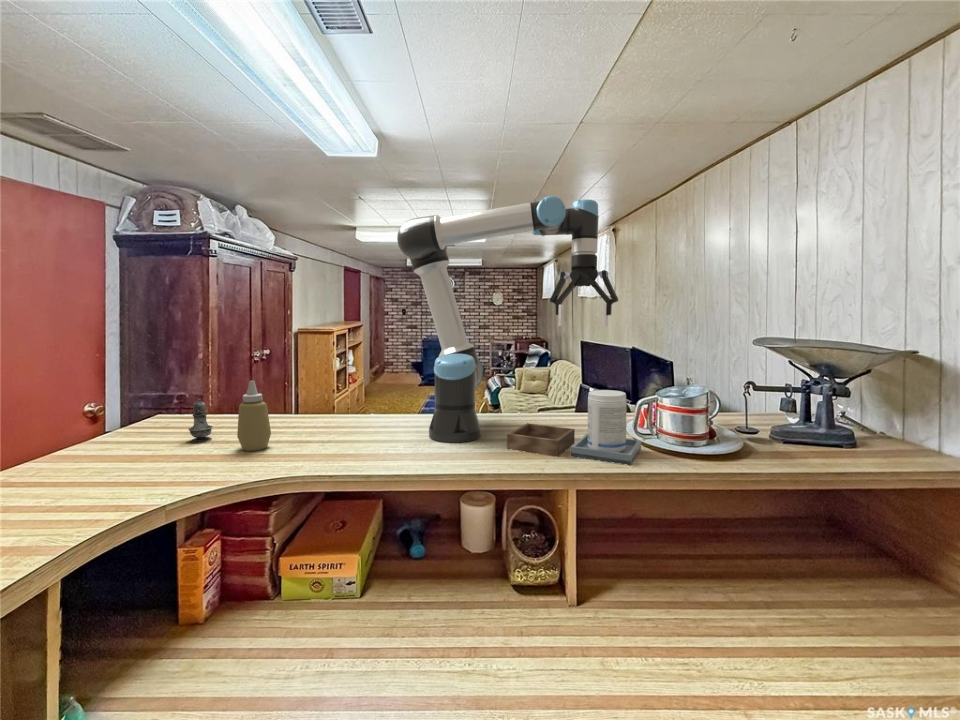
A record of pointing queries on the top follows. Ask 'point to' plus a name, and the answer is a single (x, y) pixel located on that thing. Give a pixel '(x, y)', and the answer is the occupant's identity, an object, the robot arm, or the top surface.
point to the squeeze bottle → (253, 421)
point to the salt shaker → (200, 424)
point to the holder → (541, 439)
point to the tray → (623, 457)
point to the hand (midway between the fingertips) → (582, 326)
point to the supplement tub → (607, 420)
